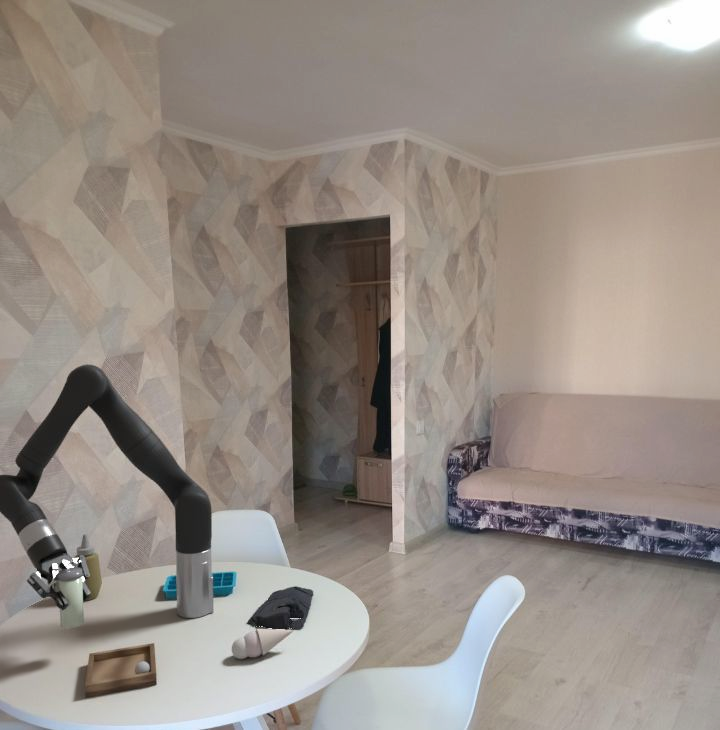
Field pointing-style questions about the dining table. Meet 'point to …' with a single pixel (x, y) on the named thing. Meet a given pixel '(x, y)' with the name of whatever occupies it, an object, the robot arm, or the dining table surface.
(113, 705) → the dining table surface
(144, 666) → the ball
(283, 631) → the ice cream cone
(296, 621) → the dark slate chunk
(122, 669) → the tray
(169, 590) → the ice cube tray
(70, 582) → the shaker
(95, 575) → the squeeze bottle
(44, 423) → the robot arm
